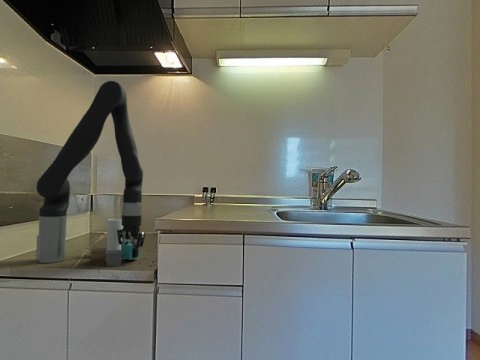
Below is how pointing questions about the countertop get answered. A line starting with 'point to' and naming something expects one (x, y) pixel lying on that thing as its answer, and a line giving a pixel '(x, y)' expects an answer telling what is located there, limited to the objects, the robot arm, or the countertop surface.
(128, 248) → the teal block
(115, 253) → the charcoal block
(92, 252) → the walnut block
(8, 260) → the countertop surface
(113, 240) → the drinking glass
